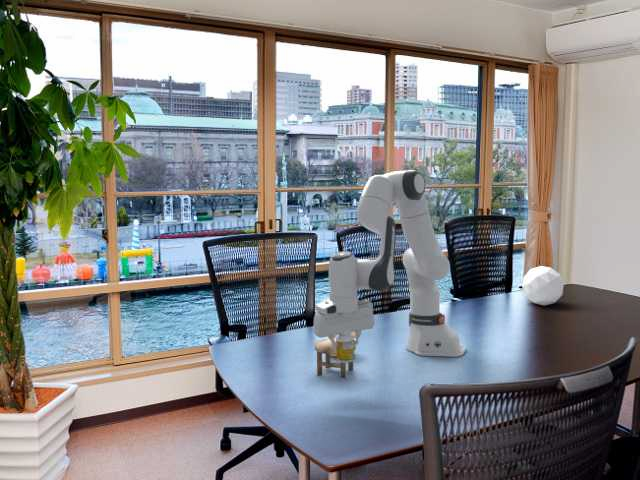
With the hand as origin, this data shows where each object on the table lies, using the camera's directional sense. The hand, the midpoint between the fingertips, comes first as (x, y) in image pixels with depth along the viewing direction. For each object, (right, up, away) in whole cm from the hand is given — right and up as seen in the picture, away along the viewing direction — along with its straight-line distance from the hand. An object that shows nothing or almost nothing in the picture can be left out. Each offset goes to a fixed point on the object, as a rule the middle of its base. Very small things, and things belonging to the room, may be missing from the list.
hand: (345, 346), depth 193 cm
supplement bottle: (0, -5, +1) cm, 5 cm away
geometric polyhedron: (+103, +2, +111) cm, 151 cm away
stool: (-3, -12, +16) cm, 20 cm away
